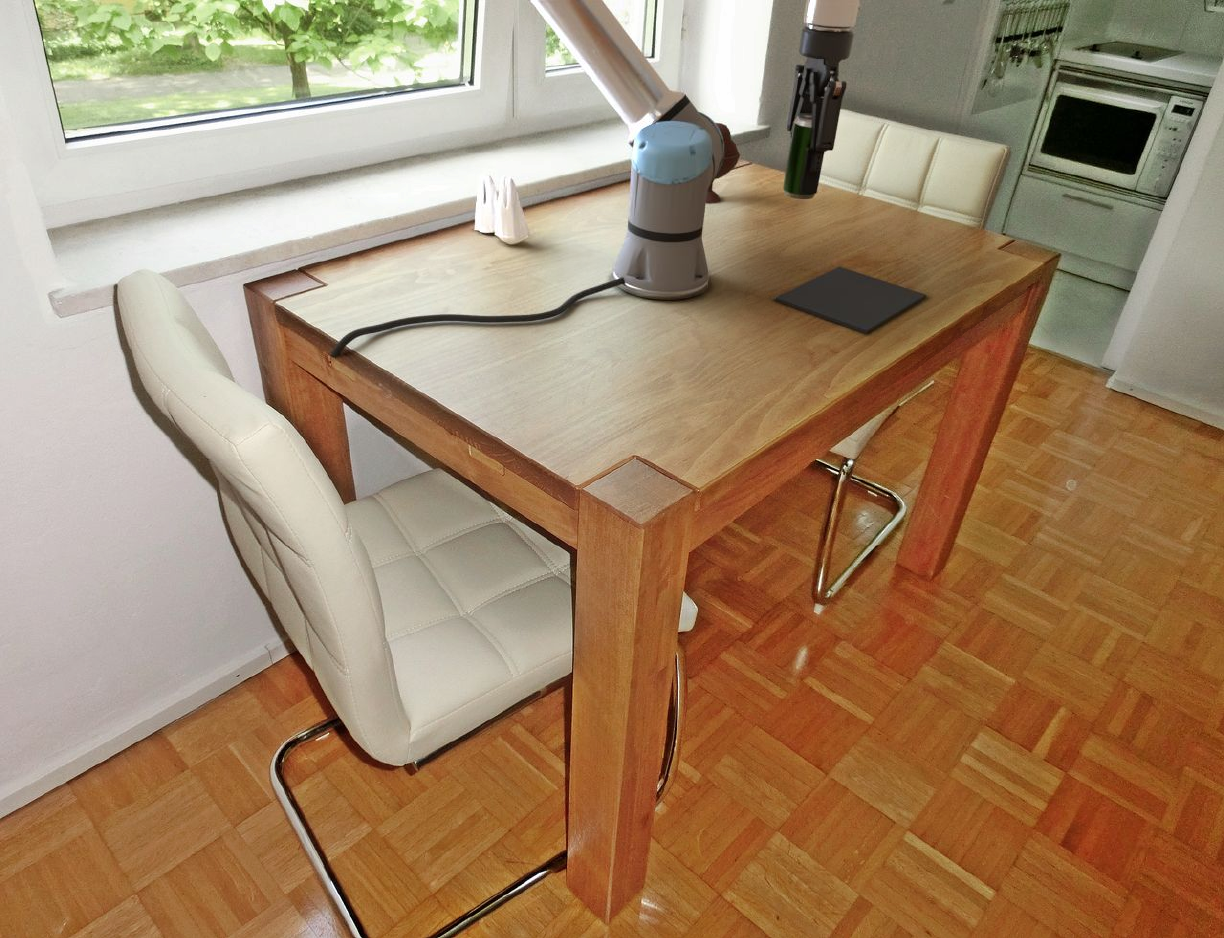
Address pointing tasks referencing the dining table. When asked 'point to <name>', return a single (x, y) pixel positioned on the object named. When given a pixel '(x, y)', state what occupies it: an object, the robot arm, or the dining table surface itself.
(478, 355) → the dining table surface
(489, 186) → the shaker set
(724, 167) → the ice cream bowl
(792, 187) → the beer can
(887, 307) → the place mat
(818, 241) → the dining table surface
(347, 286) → the dining table surface
